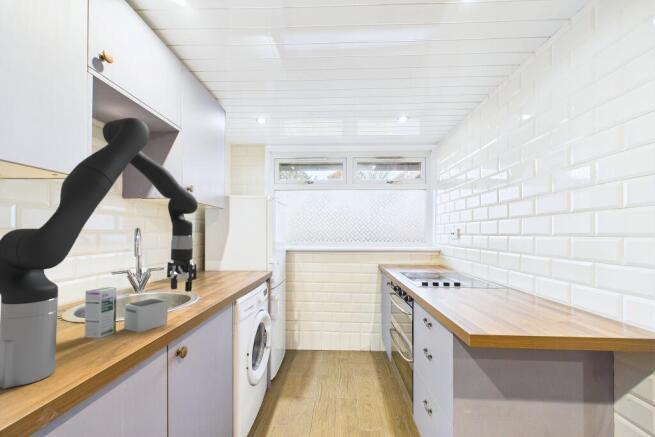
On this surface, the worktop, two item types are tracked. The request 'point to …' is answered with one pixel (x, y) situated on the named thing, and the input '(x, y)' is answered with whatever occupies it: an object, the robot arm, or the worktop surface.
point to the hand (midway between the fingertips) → (181, 290)
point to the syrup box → (100, 312)
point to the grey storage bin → (145, 315)
